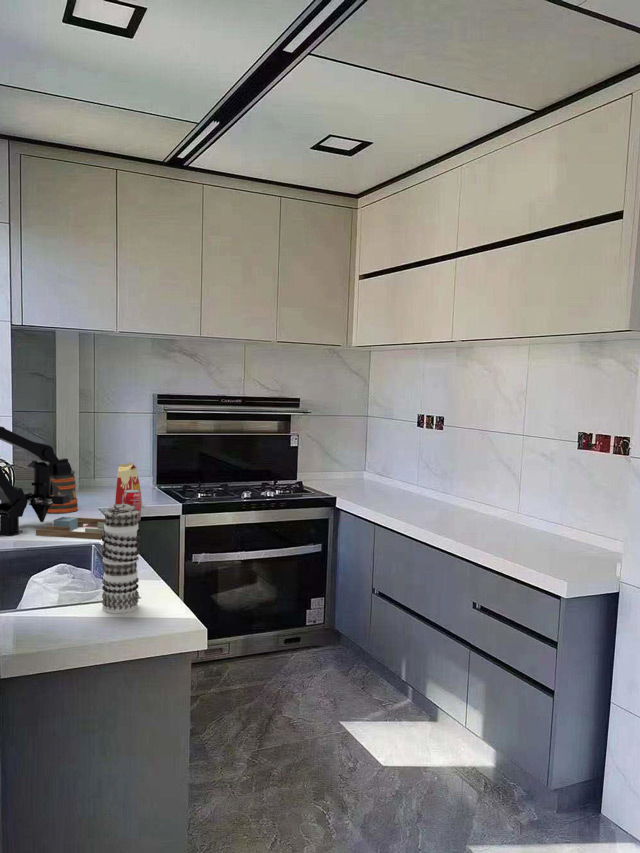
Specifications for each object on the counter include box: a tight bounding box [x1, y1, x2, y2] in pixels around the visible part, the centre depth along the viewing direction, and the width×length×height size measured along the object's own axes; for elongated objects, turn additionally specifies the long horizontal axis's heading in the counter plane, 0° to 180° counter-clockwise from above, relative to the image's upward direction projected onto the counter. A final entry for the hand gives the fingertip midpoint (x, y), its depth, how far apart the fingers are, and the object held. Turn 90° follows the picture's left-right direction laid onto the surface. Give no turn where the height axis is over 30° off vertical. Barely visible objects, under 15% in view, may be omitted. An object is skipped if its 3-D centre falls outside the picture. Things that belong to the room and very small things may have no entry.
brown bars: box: [35, 516, 106, 540], centre depth 247 cm, size 23×26×3 cm
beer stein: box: [47, 469, 79, 515], centre depth 284 cm, size 19×15×20 cm
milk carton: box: [114, 461, 144, 509], centre depth 291 cm, size 9×9×20 cm
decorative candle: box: [101, 503, 142, 614], centre depth 166 cm, size 9×9×25 cm
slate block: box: [52, 516, 79, 531], centre depth 248 cm, size 6×6×4 cm
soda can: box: [122, 490, 142, 523], centre depth 265 cm, size 7×7×12 cm
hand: (41, 521), depth 249 cm, fingers closed
